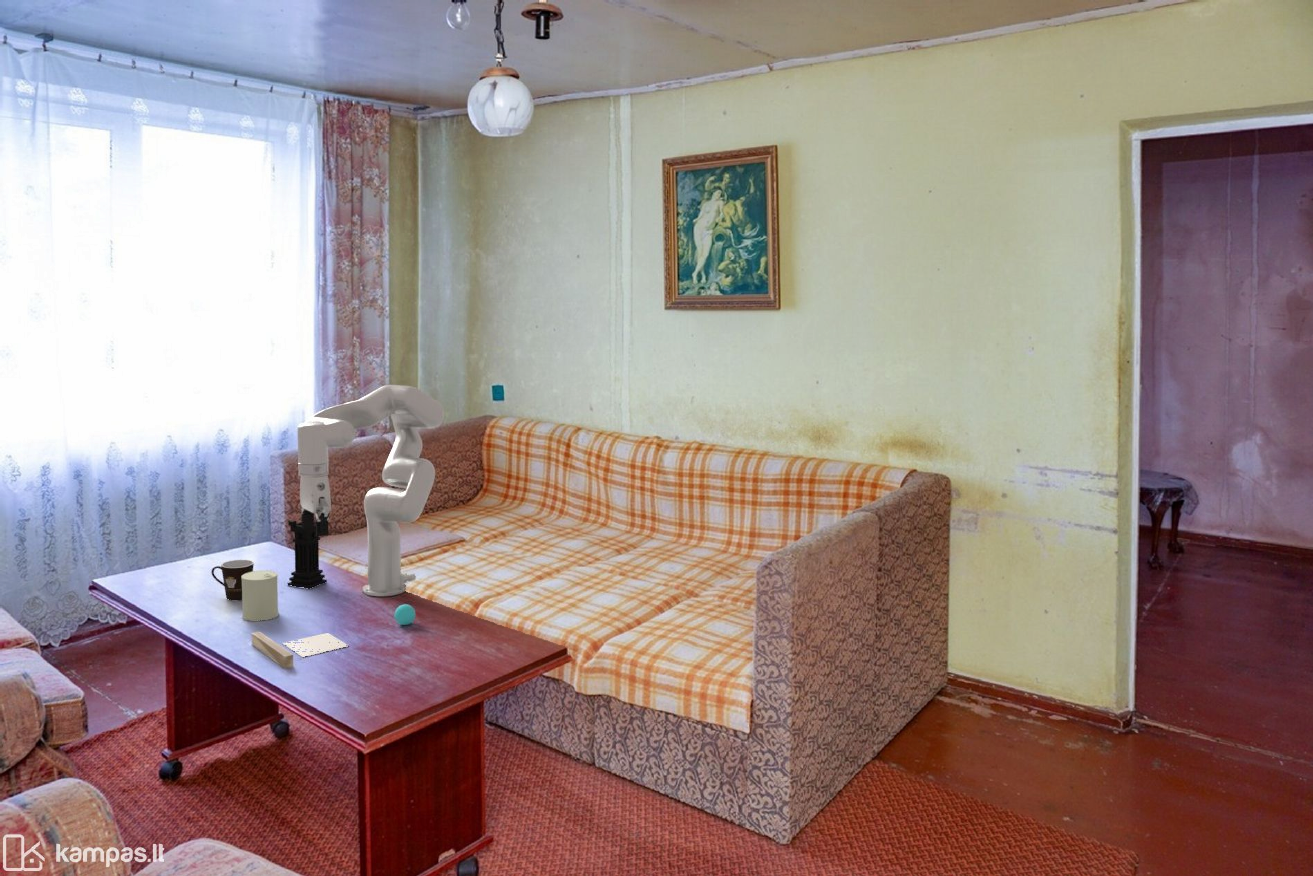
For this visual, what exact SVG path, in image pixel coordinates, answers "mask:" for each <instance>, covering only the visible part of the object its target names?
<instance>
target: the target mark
mask: <svg viewBox="0 0 1313 876" xmlns="http://www.w3.org/2000/svg"><path fill="white" fill-rule="evenodd" d="M297 640H298V641H294V640H290V641H286V643H285V642H282V643H281V644H282V645H283V646H285V645H287V646H285V647H286V648H287V649H289V650H290V649H291V650H290V651H292V650H293V651H295V652H294V653H295V654H296V653H297V654H296V655H298V656H299V657H300V658H303V657H304V658H306V657H305V656H308V657H311V655H312V656H315V654H316V655H320V653H321V654H324V653H323V652H325V653H327V652H326V651H329V652H333V651H337V650H340V649H339V648H341V649H344V648H343V647H346V648H349V647H348V646H346V645H348V644H346V642H344V641H342V640H340V639H339V638H337V637H335V636H334V635H332V634H330V633H329V632H326V633H321V634H317V635H313V636H307V637H304V638H298V639H297ZM301 640H302V641H301ZM287 642H291V643H287ZM293 642H300V643H296V644H295V643H293ZM301 642H304V643H301ZM308 642H309V643H308ZM329 642H330V643H329ZM338 642H339V643H338ZM294 645H295V646H294ZM292 647H295V648H292ZM300 647H301V648H300ZM298 649H300V650H298ZM305 649H307V650H305ZM312 649H313V650H312ZM319 649H320V650H319ZM334 649H335V650H334ZM336 649H337V650H336ZM332 650H333V651H332ZM293 651H292V652H293ZM296 651H299V652H296ZM302 651H306V652H302ZM310 651H313V652H310ZM317 651H319V652H317Z"/></svg>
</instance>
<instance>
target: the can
mask: <svg viewBox="0 0 1313 876" xmlns="http://www.w3.org/2000/svg"><path fill="white" fill-rule="evenodd" d="M241 578H242V600H241V601H242V603H241V604H242V616H241V618H242V619H243V620H245V621H247V620H251V621H250V622H263V621H262V620H266V621H268V620H269V619H270V620H272V618H273V619H275V618H277V617H278V616H279V605H278V604H279V602H278V601H279V600H278V596H279V595H278V593H279V592H278V573H277V572H276V571H274V570H273V571H272V570H255V571H254V570H253V572H249V573H245V574H243V575H242V576H241ZM260 620H261V621H260ZM270 620H269V621H270Z"/></svg>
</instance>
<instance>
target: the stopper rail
mask: <svg viewBox="0 0 1313 876" xmlns="http://www.w3.org/2000/svg"><path fill="white" fill-rule="evenodd" d="M251 646H253V647H254V648H256V650H258V649H259V650H258V651H260V652H261V653H262V654H264V655H265V656H267V657H268V658H270V660H272V661H274V662H275V663H276V664H278V665H279V666H280V665H281V667H282V668H283V669H286V670H287V669H289V668H294V654H293V653H291V652H290V651H289V650H287V649H286V648H284V647H283V646H282V645H280V644H279V643H277V642H276V641H274V640H272V638H270V637H268V636H266V635H265V634H264V633H263V632H261V631H255V632H251Z"/></svg>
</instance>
